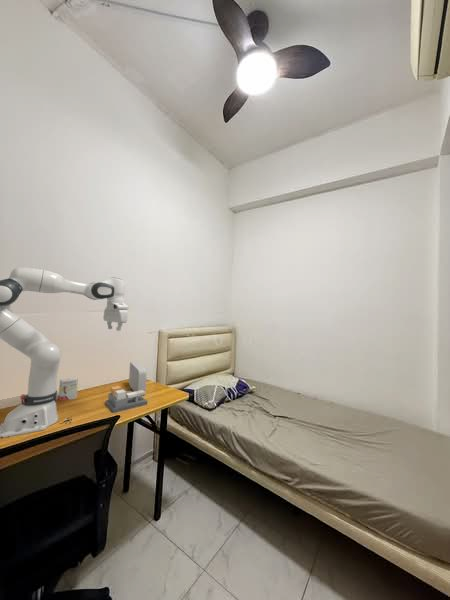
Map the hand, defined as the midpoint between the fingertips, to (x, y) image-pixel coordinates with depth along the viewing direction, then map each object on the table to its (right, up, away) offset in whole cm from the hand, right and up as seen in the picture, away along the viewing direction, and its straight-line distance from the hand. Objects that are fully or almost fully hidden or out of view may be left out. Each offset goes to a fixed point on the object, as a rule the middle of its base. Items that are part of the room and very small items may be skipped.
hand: (114, 329), depth 136 cm
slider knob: (+5, -42, +9) cm, 44 cm away
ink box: (-32, -43, +8) cm, 54 cm away
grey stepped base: (+6, -45, +4) cm, 45 cm away
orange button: (-1, -40, +3) cm, 40 cm away
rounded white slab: (+3, -45, +28) cm, 53 cm away
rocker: (+11, -39, +4) cm, 40 cm away
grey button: (+4, -40, -2) cm, 40 cm away
